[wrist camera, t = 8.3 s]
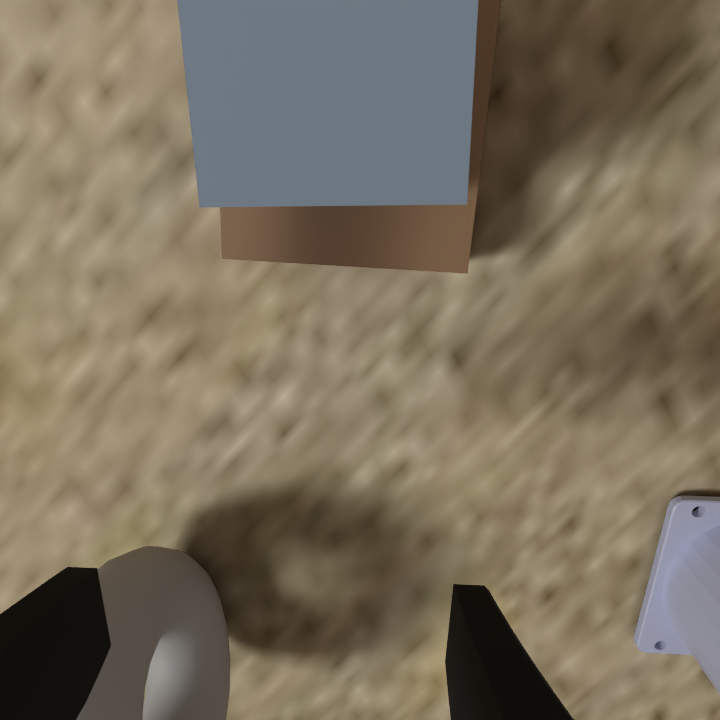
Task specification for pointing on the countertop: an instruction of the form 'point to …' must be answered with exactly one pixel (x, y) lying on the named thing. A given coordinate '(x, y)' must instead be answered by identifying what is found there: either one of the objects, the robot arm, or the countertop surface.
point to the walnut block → (375, 209)
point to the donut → (161, 641)
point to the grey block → (330, 100)
